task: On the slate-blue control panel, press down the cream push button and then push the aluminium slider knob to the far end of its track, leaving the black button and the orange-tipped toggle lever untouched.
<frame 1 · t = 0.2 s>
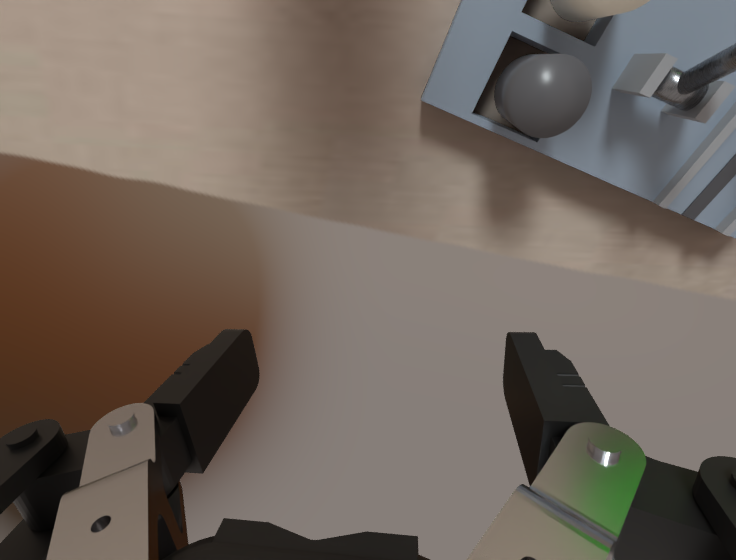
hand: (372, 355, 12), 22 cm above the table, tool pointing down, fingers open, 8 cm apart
panel: (633, 83, 26), on the table
button b: (537, 93, 22), point 5 cm above the table, slide at 0.0 cm
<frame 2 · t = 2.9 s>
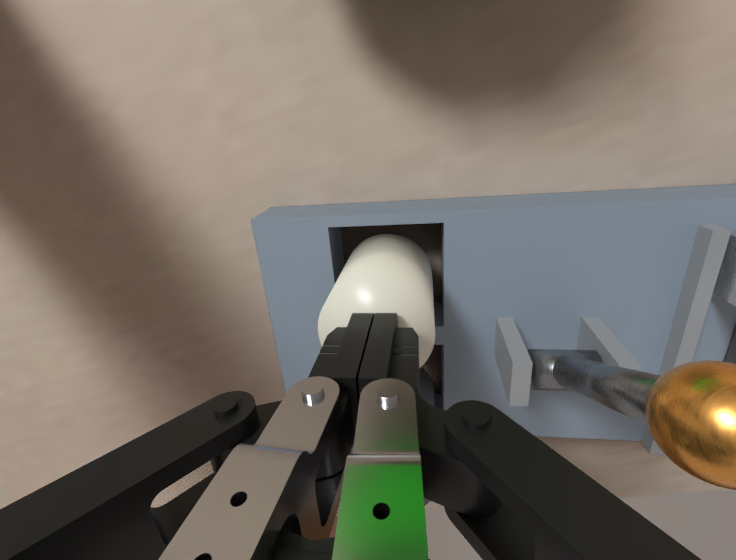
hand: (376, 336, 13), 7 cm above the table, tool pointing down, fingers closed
panel: (530, 310, 19), on the table
button b: (389, 427, 17), point 5 cm above the table, slide at 0.0 cm
toggle lever: (614, 387, 11), point 9 cm above the table, hinge at -30.0°
button a: (382, 300, 15), point 5 cm above the table, slide at 0.7 cm, touching gripper
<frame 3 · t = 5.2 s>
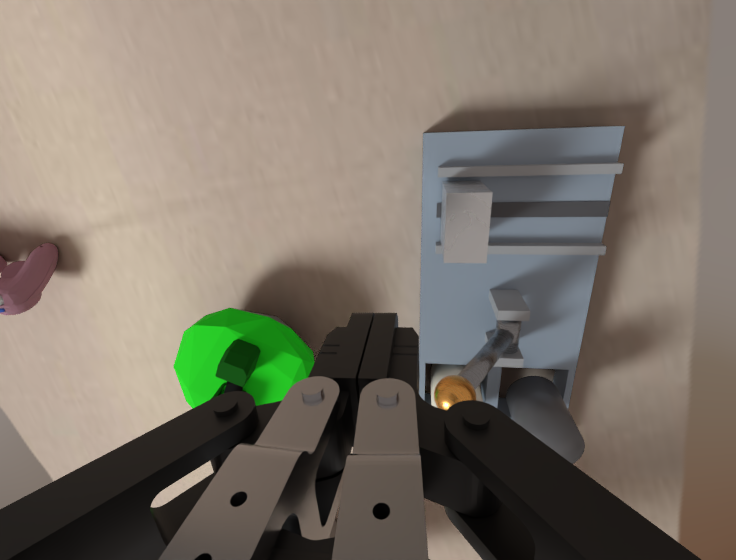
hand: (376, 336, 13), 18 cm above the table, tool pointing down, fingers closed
slider knob: (462, 219, 23), point 5 cm above the table, slide at 0.0 cm
green floating island model: (269, 343, 35), on the table
panel: (494, 301, 31), on the table
video game controller: (19, 257, 36), on the table
button b: (541, 419, 28), point 5 cm above the table, slide at 0.0 cm
toggle lever: (483, 361, 23), point 9 cm above the table, hinge at -30.0°
button a: (455, 392, 31), point 3 cm above the table, slide at 2.6 cm
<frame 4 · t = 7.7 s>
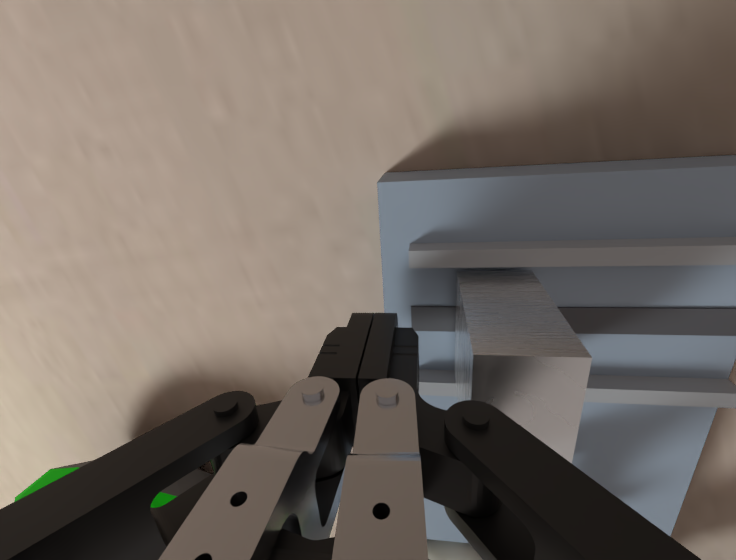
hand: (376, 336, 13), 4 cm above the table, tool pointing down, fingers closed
slider knob: (503, 364, 11), point 5 cm above the table, slide at 1.3 cm, touching gripper
green floating island model: (180, 475, 24), on the table
panel: (518, 437, 19), on the table
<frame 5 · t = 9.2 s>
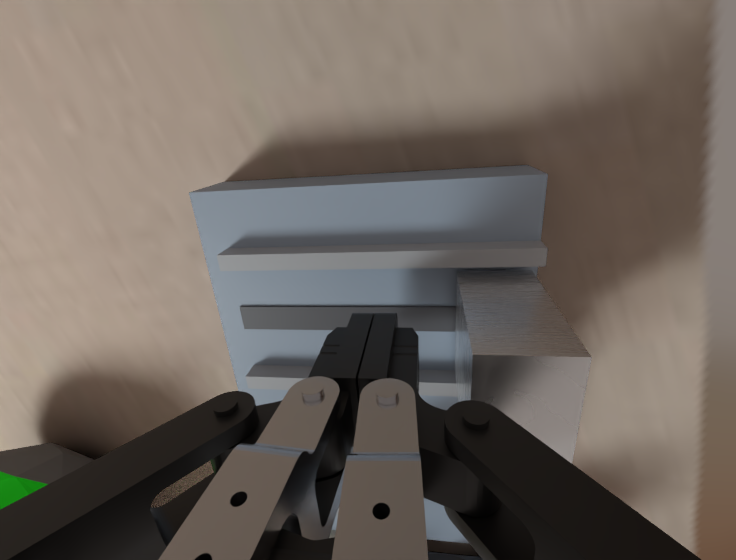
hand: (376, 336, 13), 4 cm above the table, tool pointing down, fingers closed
slider knob: (503, 364, 11), point 5 cm above the table, slide at 8.0 cm, touching gripper
green floating island model: (89, 468, 25), on the table
panel: (384, 429, 20), on the table
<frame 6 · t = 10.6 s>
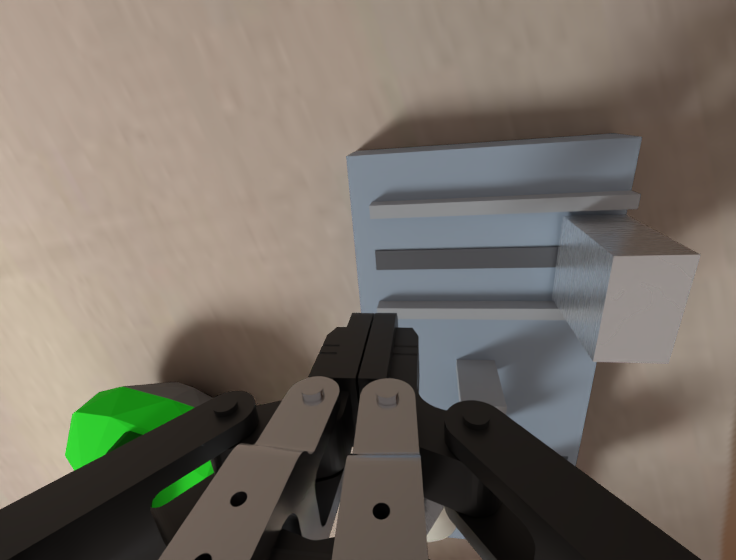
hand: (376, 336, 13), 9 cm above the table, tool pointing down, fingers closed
slider knob: (609, 281, 15), point 5 cm above the table, slide at 8.0 cm
green floating island model: (198, 408, 29), on the table
panel: (469, 364, 23), on the table
toggle lever: (437, 488, 16), point 9 cm above the table, hinge at -30.0°
button a: (422, 479, 24), point 3 cm above the table, slide at 2.6 cm
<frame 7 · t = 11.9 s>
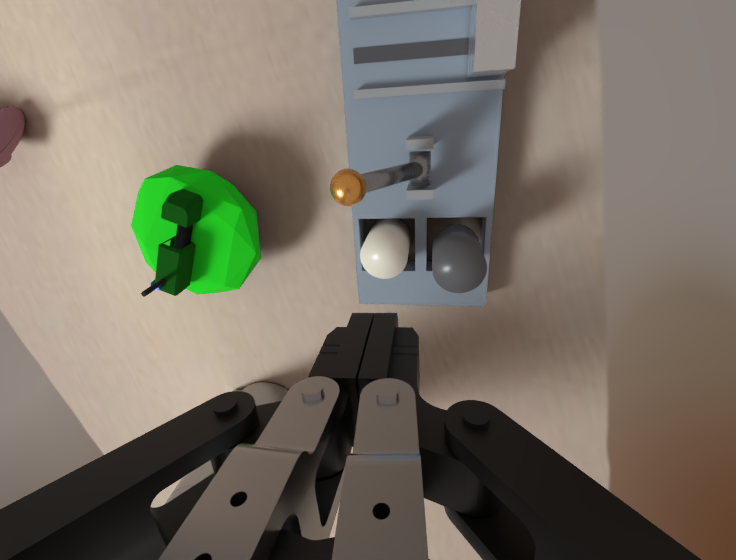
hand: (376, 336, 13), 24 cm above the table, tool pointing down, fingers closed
slider knob: (490, 38, 24), point 5 cm above the table, slide at 8.0 cm
green floating island model: (224, 219, 39), on the table
panel: (421, 160, 33), on the table
button b: (457, 256, 31), point 5 cm above the table, slide at 0.0 cm
toggle lever: (386, 177, 26), point 9 cm above the table, hinge at -30.0°
button a: (386, 246, 34), point 3 cm above the table, slide at 2.6 cm
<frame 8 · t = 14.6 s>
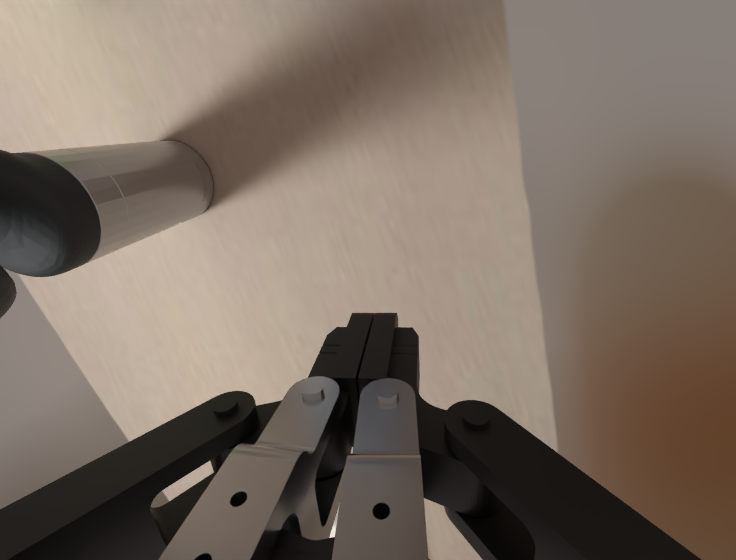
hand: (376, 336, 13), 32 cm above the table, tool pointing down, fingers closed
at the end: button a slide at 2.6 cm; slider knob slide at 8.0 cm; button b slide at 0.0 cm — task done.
